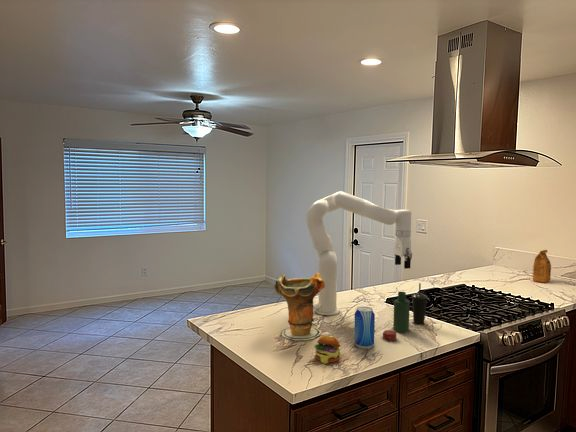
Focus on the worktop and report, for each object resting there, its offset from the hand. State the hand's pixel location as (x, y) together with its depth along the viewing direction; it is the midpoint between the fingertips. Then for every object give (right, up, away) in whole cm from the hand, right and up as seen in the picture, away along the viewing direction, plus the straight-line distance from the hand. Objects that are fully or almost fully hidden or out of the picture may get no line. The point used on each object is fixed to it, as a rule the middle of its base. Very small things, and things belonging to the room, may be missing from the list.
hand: (402, 266), depth 213 cm
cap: (-14, -28, -30) cm, 44 cm away
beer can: (-27, -29, -38) cm, 55 cm away
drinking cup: (+5, -27, -10) cm, 29 cm away
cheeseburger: (-44, -30, -50) cm, 73 cm away
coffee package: (+119, -20, +76) cm, 142 cm away
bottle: (-6, -28, -20) cm, 34 cm away
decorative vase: (-54, -28, -24) cm, 66 cm away
